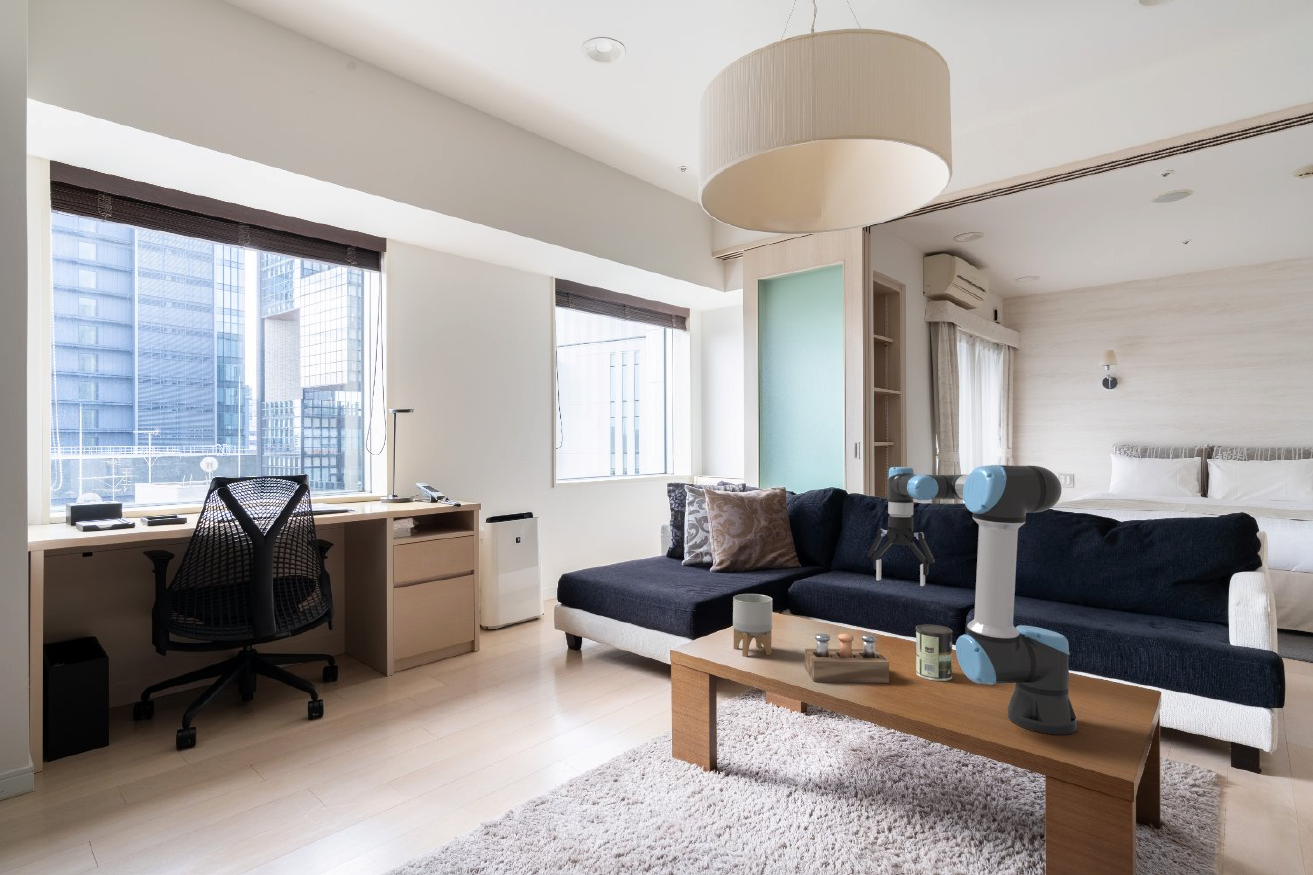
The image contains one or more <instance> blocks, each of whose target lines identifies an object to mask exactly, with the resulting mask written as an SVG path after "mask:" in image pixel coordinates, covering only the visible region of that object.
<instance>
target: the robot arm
mask: <svg viewBox="0 0 1313 875" xmlns="http://www.w3.org/2000/svg"><path fill="white" fill-rule="evenodd" d="M887 481H888V484H887V485H888V487H887V490H888V491H887V493H888V498H887V499H888V504H887V505H888V506H887V507H888V508H887V509H888V510H887V513H888V514H889V516H888V517H887V518H888V520H887V530H886V529H883V528H880V529H878V530H877V535H876V538H875V540H874V542H873V543H872V545H871V546H870V549H869V550H868V552H867V557H868V558H871V559H872V561H873V564H872V565H873V566H872V567H873V570H876V574H875V576H876V577H875V578H876V579H875V580H876V581H881V580H882V558H880V557H881V556H882V555H883V554H884V553H885V552H886V551H887V550H888V549H889V548H890V546H892V545H896V546H898V545H900V546H904V547H905V546H908V548H910V549H911V551H912V552H913V554H914V555H916V557H917V558H918V559H919V561H920V562H921V564H920V565H919V568H920V569H919V571H920V575H919V578H920V579H919V580H920V581H919V582H920V583H919V585H920V587H924V586H925V585H926V576H928V574H929V566H930V565H931V564H933V563H935V562H936V560H935V557H934V556H933V553H932V551H931V549H930V547H929V546H928V543H927V541H926V538H925V533H924V532H923V531H921V532H915V531H914V517H913V515H914V500H917V501H920V502H921V501H930V500H962V501H963V502H964V505H965V507H966V508H967V510H968V511H969V512H971V513H972V519H973V520H974V522H976V524H978V537H977V540H978V541H977V554H976V555H977V557H976V558H977V562H976V579H975V580H976V582H975V597H974V598H975V599H974V600H975V601H974V618H973V619H972V620H970V621H969V622H968V623H967V626H966V634H962V635H959V637H958V638H957V639H956V642H955V654H956V658H957V662H958V664H959V666H960V669H961V670H962V672H963V673H964V675H965V676H966V677H967V678H968V680H970V681H971V682H973V683H974V684H975V683H976V684H978V685H982V684H983V685H990V686H992V685H997V684H998V685H1000V684H1002V685H1003V684H1015V686H1014V690H1013V693H1012V695H1011V698H1010V700H1009V703H1008V705H1007V719H1009V720H1010V721H1011V722H1012V723H1013V724H1015V725H1017V726H1019V727H1022V728H1023V729H1027V730H1029V731H1034V732H1038V733H1042V734H1049V735H1058V736H1059V735H1070V734H1073V733H1075V732H1076V731H1077V729H1078V726H1077V725H1078V719H1077V716H1076V713H1075V710H1074V707H1073V705H1072V701H1071V699H1070V693H1069V690H1070V689H1069V688H1070V686H1069V685H1070V684H1069V683H1070V682H1069V679H1070V678H1069V674H1070V670H1069V669H1070V655H1071V653H1070V651H1069V650H1070V646H1069V641H1068V639H1067V637H1066V636H1064V635H1063V634H1060V633H1059V632H1056V631H1053V630H1049V629H1045V628H1042V627H1037V626H1031V625H1021V624H1020V625H1016V627H1015V625H1014V614H1015V613H1014V608H1015V592H1016V574H1017V573H1016V572H1017V571H1016V570H1017V554H1018V553H1017V552H1018V533H1019V528H1021V527H1022V526H1023V525H1025V524H1026V517H1027V513H1028V514H1030V513H1032V514H1033V513H1041V512H1044V511H1045V512H1046V511H1047V510H1051V509H1052V508H1053V507H1054V506H1055V505H1056V504H1057V503H1058V502H1059V500H1060V498H1061V495H1062V489H1063V488H1062V484H1061V481H1060V479H1059V478H1058V476H1057V475H1056V474H1055V473H1054V472H1053V471H1052V470H1050V469H1048V468H1045V467H1043V466H1040V465H1039V466H1038V465H1012V464H1011V465H1007V464H1006V465H1005V464H1003V465H1002V464H991V465H982V466H977V467H976V468H974V469H973V470H971V472H970V473H969V474H916V473H914V468H912V467H909V466H892V467H890V468H889V469H888V477H887ZM886 535H887V537H888V540H887V541H886V542H885V543H884V544H883V546H882V547H880V548H879V550H878V547H879V545H880V543H881V541H882V540H883V537H885V536H886ZM915 537H916V540H918V542H919V545H920V546H921V548H922V550H923V552H924V554H925V555H924V554H923V552H922V551H921V550H920V549H919V547H918V546H917V545H916V543H915V541H914V540H913V539H914V538H915ZM877 550H878V551H877ZM876 551H877V552H876Z"/></svg>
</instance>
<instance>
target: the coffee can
mask: <svg viewBox="0 0 1313 875" xmlns="http://www.w3.org/2000/svg"><path fill="white" fill-rule="evenodd" d="M915 631H916V632H915V635H916V636H915V637H916V638H915V639H916V640H915V650H916V653H915V654H916V656H915V664H916V665H915V669H916V670H915V674H916V676H918V677H920V678H921V679H924V680H929V681H934V682H935V681H936V682H947V681H951V680H952V679H953V632H954V631H953V630H952V629H951V628H949V627H947V626H944V625H938V624H927V623H926V624H918V625H916V626H915Z"/></svg>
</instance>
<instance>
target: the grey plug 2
mask: <svg viewBox="0 0 1313 875" xmlns="http://www.w3.org/2000/svg"><path fill="white" fill-rule="evenodd" d="M861 640H862V641H863V642H862V646H863V647H862V649H863V658H875V649H876V642H877V640H878V636H877V635H875V634H871V633H864V634H861Z"/></svg>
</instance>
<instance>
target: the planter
mask: <svg viewBox="0 0 1313 875" xmlns="http://www.w3.org/2000/svg"><path fill="white" fill-rule="evenodd" d="M732 598H733V599H732V600H733V601H732V606H733V607H732V610H733V611H732V629H733V650H738V649H739V648H740V644H741V641H742V653H741V654H742V655H741V656H742V657H744V658H747V657H749V650H750V647H751V646H750V645H751V642H752V641H753V639H754V640H755V648H759V649H761V648H762V646H763V647H764V650H765V655H766V656H771V655H772V639H773V638H772V630H773V598H772V597H771V596H768V595H765V594H758V593H742V594H737V595H736V594H735V595H734V596H733V597H732Z"/></svg>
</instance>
